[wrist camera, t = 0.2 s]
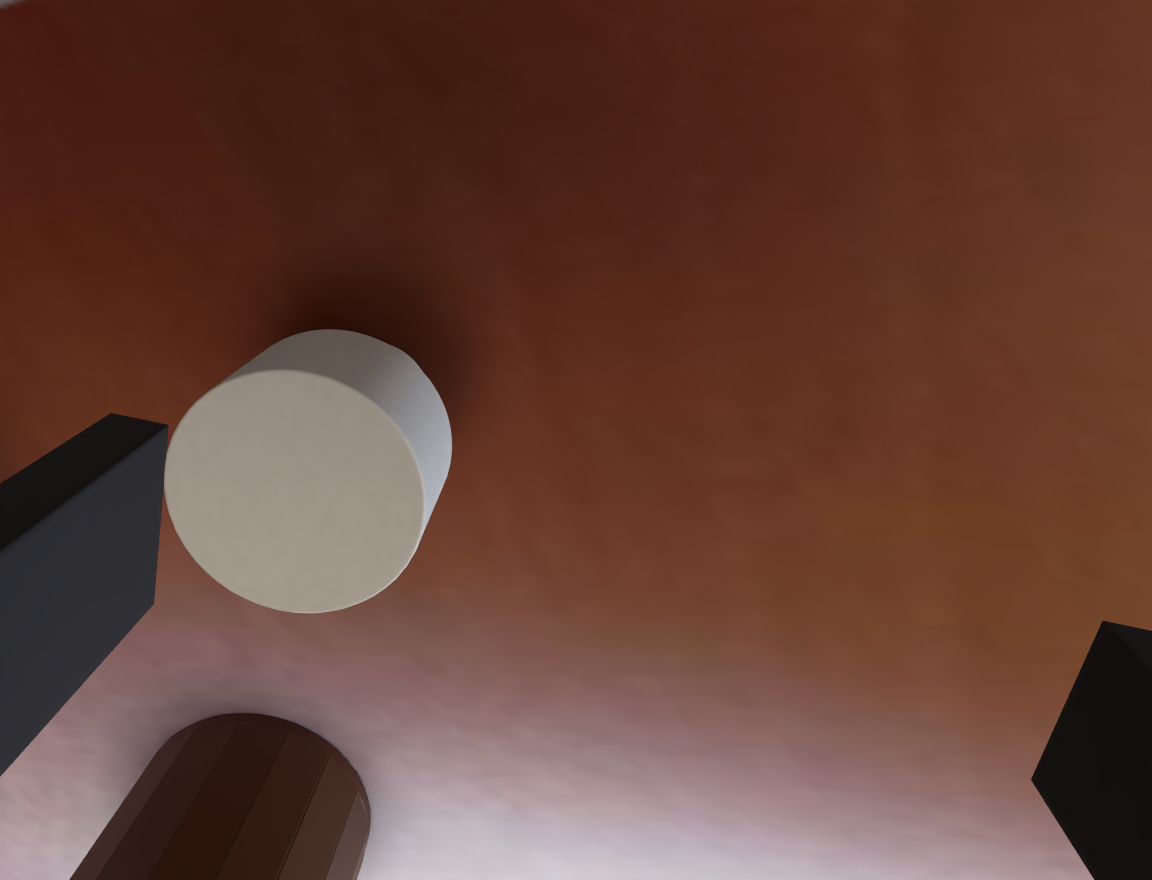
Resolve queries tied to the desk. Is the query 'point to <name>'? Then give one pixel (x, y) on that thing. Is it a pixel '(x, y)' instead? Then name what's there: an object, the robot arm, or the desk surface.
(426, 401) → the stopper
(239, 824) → the bottle
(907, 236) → the desk surface
